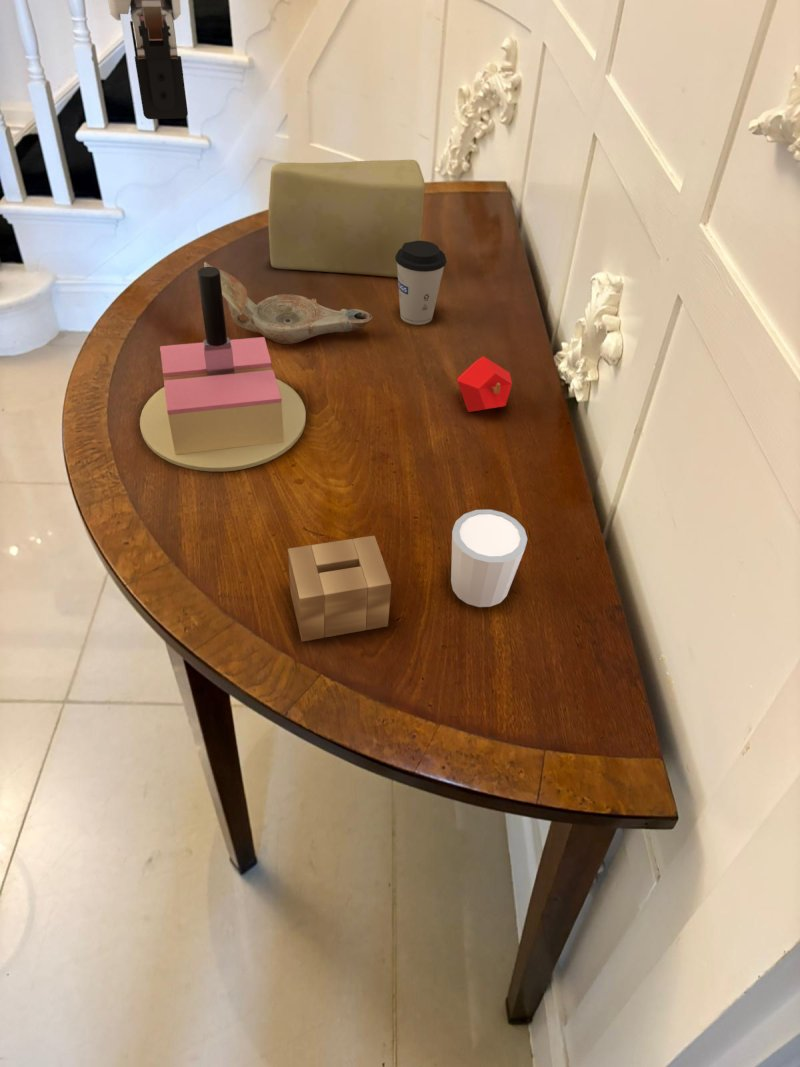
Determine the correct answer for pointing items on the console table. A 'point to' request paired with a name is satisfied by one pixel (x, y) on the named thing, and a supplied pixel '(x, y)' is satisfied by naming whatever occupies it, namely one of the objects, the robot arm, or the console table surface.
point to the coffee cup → (419, 280)
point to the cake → (221, 410)
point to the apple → (484, 385)
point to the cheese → (344, 215)
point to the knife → (214, 324)
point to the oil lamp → (287, 314)
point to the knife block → (339, 587)
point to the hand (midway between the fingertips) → (162, 96)
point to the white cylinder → (485, 556)
